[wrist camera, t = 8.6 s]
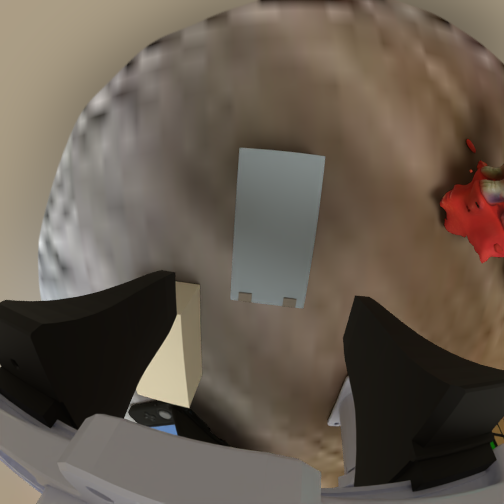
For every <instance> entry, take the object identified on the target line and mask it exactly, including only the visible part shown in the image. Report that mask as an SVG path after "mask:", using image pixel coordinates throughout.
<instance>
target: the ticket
mask: <svg viewBox="0 0 504 504" xmlns="http://www.w3.org/2000/svg"><path fill="white" fill-rule="evenodd" d="M175 282H176V305H177V316H176V319H175V321H174V323H173V326H172V328H171V330H170V332H169V334H168V336H167V337H166V339H165V341H164V342H163V344H162V345H161V347H160V348H159V350H158V352H157V353H156V355H155V356H154V358H153V359H152V361H151V362H150V364H149V366H148V367H147V369H146V370H145V372H144V374H143V376H142V377H141V379H140V381H139V384H138V386H137V388H136V390H137V393H138V394H139V395H142V396H145V397H149V398H152V399H156V400H159V401H163V402H167V403H171V404H175V405H179V406H183V407H187V408H190V405H191V402H192V400H193V397H194V395H195V392H196V390H197V387H198V385H199V382H200V379H201V377H202V356H201V326H200V285H197V284H190V283H184V282H177V281H175Z"/></svg>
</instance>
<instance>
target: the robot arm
mask: <svg viewBox="0 0 504 504" xmlns="http://www.w3.org/2000/svg"><path fill="white" fill-rule="evenodd" d="M176 316H177V305H176V282H175V272H169V271H163V270H161V271H157V272H153V273H150V274H147V275H145V276H142V277H139V278H137V279H134V280H132V281H129V282H126V283H124V284H121V285H118V286H115V287H112V288H109V289H106V290H103V291H100V292H96V293H92V294H88V295H84V296H79V297H73V298H66V299H60V300H50V301H12V300H5V301H2V302H0V365H1V367H0V460H1V461H2V462H3V463H4V464H5V465H7V466H8V467H9V468H10V469H11V470H12V471H13V472H15V473H16V474H17V475H18V476H19V477H21V478H22V479H23V480H24V481H26V482H27V483H28V484H29V485H31V486H32V487H33V488H35V489H36V490H37V491H39V492H40V493H41V494H42V495H41V497H40V498H39V500H38V502H37V503H36V504H504V443H503V444H501V445H499V446H497V447H496V448H494V449H492V447H491V444H490V443H491V442H493V440H494V438H495V437H494V435H493V432H492V430H493V429H494V428H495V426H496V425H497V424H498V423H499V422H500V420H501V419H502V418H503V417H504V370H500V369H496V368H492V367H488V366H484V365H480V364H478V363H475V362H472V361H469V360H466V359H464V358H461V357H459V356H457V355H455V354H453V353H450V352H448V351H446V350H444V349H442V348H440V347H439V346H437V345H435V344H433V343H432V342H430V341H428V340H427V339H425V338H423V337H422V336H420V335H419V334H417V333H416V332H415V331H413V330H412V329H411V328H409V327H408V326H406V325H405V324H404V323H403V322H401V321H400V320H399V319H398V318H396V317H395V316H394V315H393V314H391V313H390V312H389V311H388V310H386V309H385V308H384V307H383V306H381V305H380V304H379V303H378V302H376V301H375V300H374V299H372V298H370V297H365V296H355V298H354V302H353V305H352V309H351V313H350V316H349V320H348V323H347V326H346V330H345V333H344V336H343V343H344V356H345V362H346V367H347V372H348V376H347V377H346V379H345V381H344V384H343V386H342V389H341V391H340V394H339V396H338V399H337V401H336V403H335V406H334V408H333V410H332V413H331V415H330V417H329V419H328V425H329V426H341V436H342V447H343V459H344V473H345V475H343V476H340V477H338V482H339V487H335V488H321V472H320V471H318V470H316V469H315V468H313V467H311V466H310V465H308V464H306V463H304V462H303V461H301V460H299V459H297V458H292V457H287V456H282V455H277V454H273V453H268V452H260V451H253V450H246V449H239V448H233V447H227V446H222V445H217V444H212V443H207V442H202V441H198V440H194V439H189V438H185V437H181V436H178V435H174V434H170V433H167V432H163V431H160V430H157V429H153V428H150V427H147V426H144V425H141V424H138V423H135V422H132V421H129V420H127V419H124V417H125V414H126V412H127V409H128V407H129V404H130V402H131V399H132V397H133V395H134V392H135V390H136V388H137V386H138V384H139V381H140V379H141V377H142V376H143V374H144V372H145V370H146V369H147V367H148V366H149V364H150V362H151V361H152V359H153V358H154V356H155V355H156V353H157V352H158V350H159V348H160V347H161V345H162V344H163V342H164V341H165V339H166V337H167V336H168V334H169V332H170V330H171V328H172V326H173V323H174V321H175V319H176Z"/></svg>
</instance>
